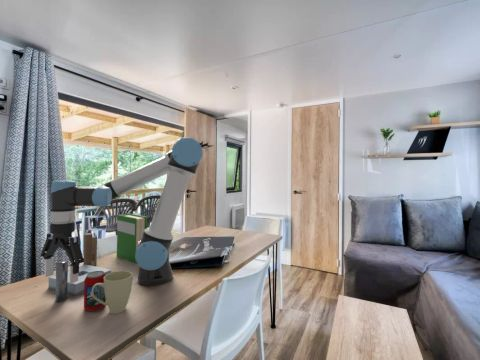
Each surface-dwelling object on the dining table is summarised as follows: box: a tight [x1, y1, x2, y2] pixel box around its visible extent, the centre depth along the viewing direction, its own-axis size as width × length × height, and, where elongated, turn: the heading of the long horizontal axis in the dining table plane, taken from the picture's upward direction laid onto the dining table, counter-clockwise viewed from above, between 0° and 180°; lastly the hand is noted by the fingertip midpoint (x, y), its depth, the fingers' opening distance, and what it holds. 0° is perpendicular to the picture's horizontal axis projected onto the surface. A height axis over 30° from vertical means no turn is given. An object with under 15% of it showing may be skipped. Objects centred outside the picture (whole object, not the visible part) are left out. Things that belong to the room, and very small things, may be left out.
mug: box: [92, 270, 133, 314], centre depth 84 cm, size 11×10×12 cm
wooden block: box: [82, 232, 98, 267], centre depth 121 cm, size 4×11×18 cm, turn 17°
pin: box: [54, 260, 69, 303], centre depth 90 cm, size 4×4×14 cm
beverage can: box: [83, 271, 106, 312], centre depth 86 cm, size 7×7×12 cm
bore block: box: [48, 264, 112, 297], centre depth 104 cm, size 16×16×4 cm
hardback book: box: [116, 213, 148, 264], centre depth 137 cm, size 18×7×24 cm, turn 55°
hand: (61, 278), depth 90 cm, fingers open, 13 cm apart
